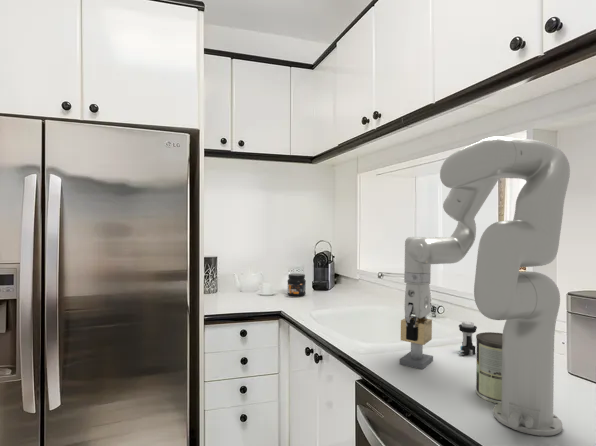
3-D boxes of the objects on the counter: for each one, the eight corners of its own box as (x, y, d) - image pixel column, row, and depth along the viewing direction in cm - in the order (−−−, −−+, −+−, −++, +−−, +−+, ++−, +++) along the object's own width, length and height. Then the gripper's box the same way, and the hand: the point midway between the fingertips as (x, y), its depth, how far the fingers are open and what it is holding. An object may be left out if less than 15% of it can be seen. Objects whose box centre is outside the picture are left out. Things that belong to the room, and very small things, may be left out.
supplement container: (283, 295, 223) (284, 274, 223) (293, 293, 232) (293, 272, 232) (300, 297, 218) (300, 276, 218) (308, 294, 227) (309, 274, 227)
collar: (423, 345, 113) (424, 324, 113) (400, 340, 117) (400, 320, 117) (431, 339, 119) (431, 319, 119) (409, 334, 123) (409, 315, 123)
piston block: (422, 369, 112) (423, 339, 112) (399, 364, 116) (399, 335, 116) (433, 360, 119) (433, 332, 119) (410, 355, 123) (410, 328, 123)
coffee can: (468, 386, 100) (468, 331, 100) (507, 386, 101) (508, 332, 101) (488, 405, 90) (489, 344, 90) (532, 405, 90) (533, 344, 90)
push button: (466, 358, 121) (467, 326, 121) (452, 353, 126) (452, 322, 126) (480, 355, 125) (480, 323, 125) (465, 350, 129) (465, 320, 129)
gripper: (419, 282, 109) (418, 346, 109) (438, 276, 123) (438, 332, 123) (393, 280, 113) (392, 341, 113) (415, 273, 127) (414, 328, 127)
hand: (416, 336), depth 118 cm, fingers closed on collar, 7 cm apart
